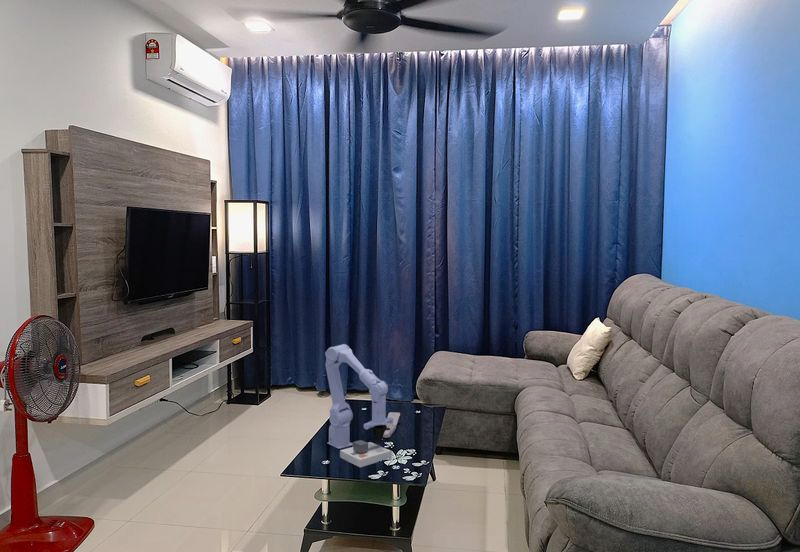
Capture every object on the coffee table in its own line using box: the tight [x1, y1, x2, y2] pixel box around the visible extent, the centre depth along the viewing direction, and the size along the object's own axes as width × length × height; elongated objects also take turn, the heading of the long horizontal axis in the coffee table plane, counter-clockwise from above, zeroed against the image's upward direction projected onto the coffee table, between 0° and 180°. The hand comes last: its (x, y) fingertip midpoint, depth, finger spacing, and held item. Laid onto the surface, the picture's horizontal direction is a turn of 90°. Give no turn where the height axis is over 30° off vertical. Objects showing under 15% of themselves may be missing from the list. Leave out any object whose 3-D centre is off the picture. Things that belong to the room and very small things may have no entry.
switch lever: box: [352, 439, 369, 454], centre depth 238 cm, size 4×5×4 cm
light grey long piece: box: [383, 411, 401, 439], centre depth 274 cm, size 6×6×25 cm
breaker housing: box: [339, 441, 392, 468], centre depth 240 cm, size 16×14×3 cm
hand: (378, 442), depth 244 cm, fingers closed
